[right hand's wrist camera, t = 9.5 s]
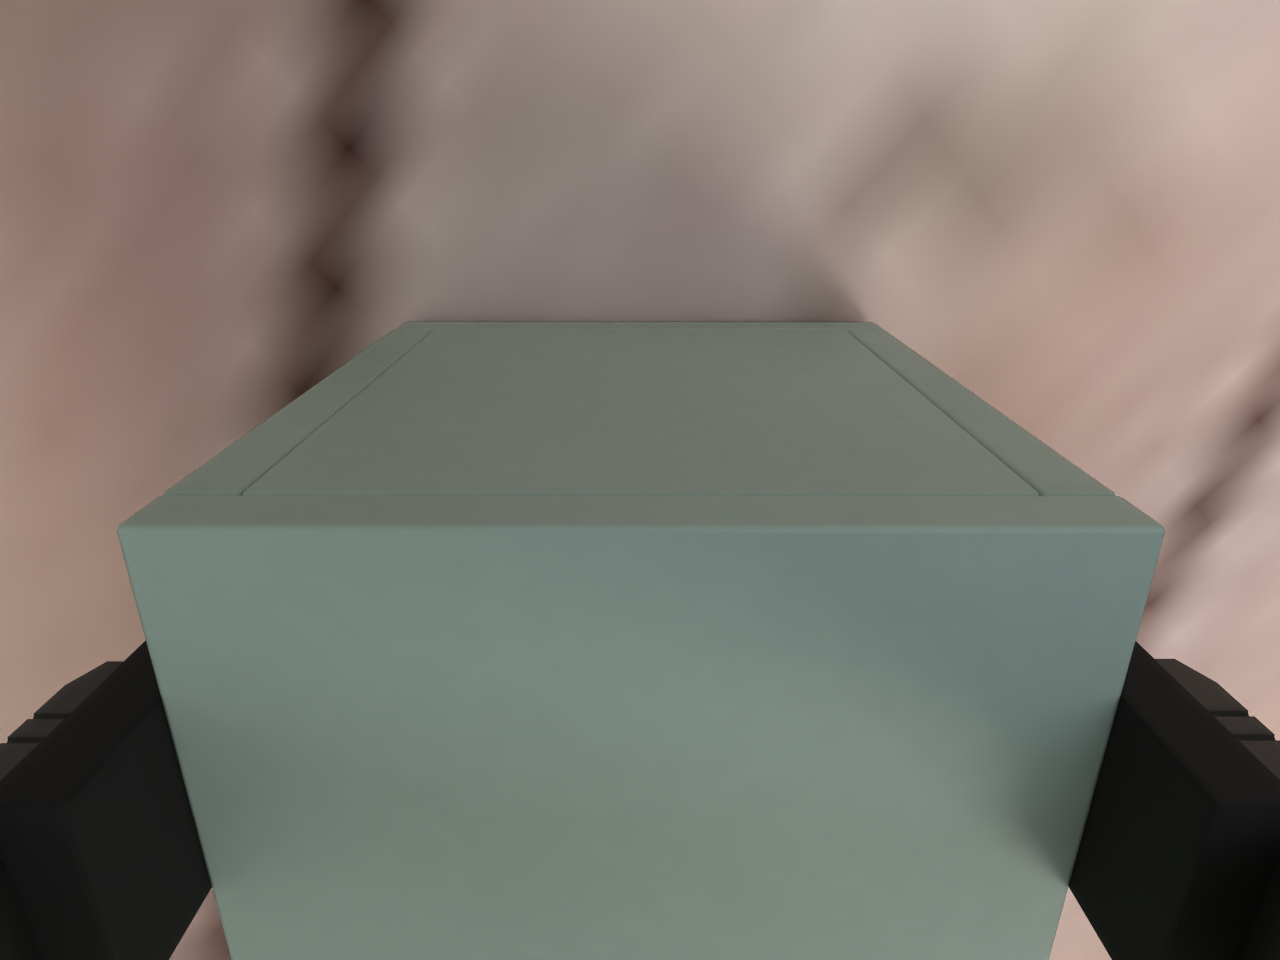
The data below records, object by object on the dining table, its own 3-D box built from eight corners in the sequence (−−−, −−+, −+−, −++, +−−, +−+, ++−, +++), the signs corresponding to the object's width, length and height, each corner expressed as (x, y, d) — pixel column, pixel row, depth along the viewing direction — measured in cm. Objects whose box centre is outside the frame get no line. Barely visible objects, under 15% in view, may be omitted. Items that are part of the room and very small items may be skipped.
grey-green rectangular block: (809, 914, 24) (923, 1423, 14) (468, 914, 24) (353, 1424, 14) (875, 321, 17) (1170, 527, 8) (404, 320, 17) (111, 526, 8)
